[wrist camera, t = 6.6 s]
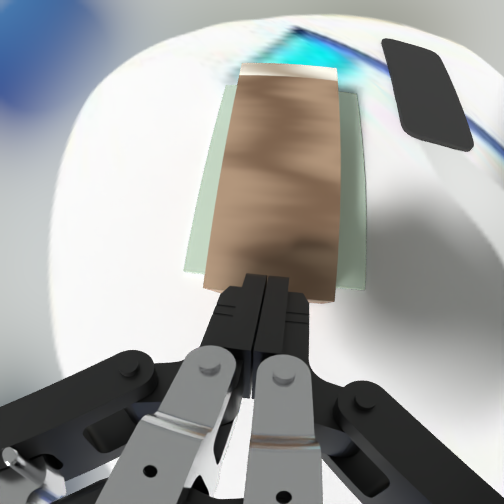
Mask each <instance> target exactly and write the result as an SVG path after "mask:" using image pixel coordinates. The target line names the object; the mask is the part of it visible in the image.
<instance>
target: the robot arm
mask: <svg viewBox="0 0 504 504" xmlns="http://www.w3.org/2000/svg"><path fill="white" fill-rule="evenodd" d="M288 287H289V277H282V276H271V275H269V276H268V281H267V275H260V274H250V273H246V275H245V279H244V282H243V285H242V287H238V286H229V287H228V288H227V289H226V290H224V291H223V292H222V293H221V294H220V297H219V299H218V302H217V306H216V307H215V309H214V312H213V315H212V317H211V319H210V322H209V325H208V327H207V330H206V332H205V335H204V337H203V340H202V342H201V345H200V347H199V348H196V349H194V350H193V351H191V352H190V353H189V354H188V355H187V356H186V358H185V359H184V360H182V361H179V362H172V363H153V360H152V359H151V357H150V356H149V355H147V354H146V353H144V352H142V351H138V350H128V351H123V352H121V353H118V354H116V355H114V356H112V357H110V358H108V359H106V360H104V361H102V362H100V363H97V364H95V365H93V366H91V367H89V368H87V369H85V370H82V371H80V372H78V373H76V374H74V375H72V376H69V377H67V378H65V379H63V380H61V381H59V382H56V383H54V384H52V385H50V386H47V387H45V388H43V389H41V390H39V391H36V392H34V393H32V394H29V395H27V396H25V397H23V398H20V399H18V400H16V401H13V402H11V403H9V404H6V405H4V406H1V407H0V504H323V492H322V461H321V458H322V459H323V460H324V462H325V463H326V464H327V465H328V466H329V467H330V468H331V470H332V471H333V472H334V473H335V474H336V475H337V476H338V478H339V479H340V480H341V481H342V482H343V483H344V484H345V485H346V486H347V487H348V489H349V490H350V491H351V492H352V493H353V494H354V495H355V496H356V497H357V498H358V499H359V500H360V501H361V503H362V504H504V498H503V497H502V496H501V495H500V494H499V493H498V492H497V491H495V490H494V489H493V488H492V487H491V486H490V485H489V484H487V483H486V482H485V481H484V480H483V479H482V478H481V477H480V476H478V475H477V474H476V473H475V472H474V471H473V470H472V469H471V468H470V467H468V466H467V465H466V464H465V463H464V462H463V461H462V460H461V459H459V458H458V457H457V456H456V455H455V454H454V453H453V452H452V451H451V450H449V449H448V448H447V447H446V446H445V445H444V444H443V443H442V442H441V441H440V440H438V439H437V438H436V437H435V436H434V435H433V434H432V433H431V432H430V431H429V430H427V429H426V428H425V427H424V426H423V425H422V424H421V423H420V422H419V421H418V420H416V419H415V418H414V417H413V416H412V415H411V414H410V413H409V412H408V411H407V410H406V409H404V408H403V407H402V406H401V405H400V404H399V403H398V402H397V401H396V400H395V399H394V398H393V397H391V396H390V395H389V394H388V393H387V392H386V391H385V390H384V389H383V388H381V387H380V386H379V385H377V384H375V383H373V382H369V381H354V382H351V383H349V384H347V385H346V386H345V387H341V386H338V385H335V384H332V383H329V382H326V381H324V380H322V379H321V378H319V377H318V376H317V375H316V374H315V373H314V372H313V371H312V369H311V367H310V365H309V302H308V300H307V299H306V297H305V295H304V294H303V293H298V292H288ZM251 389H252V399H254V409H253V420H252V430H251V439H250V445H249V455H248V464H247V474H246V483H245V493H244V498H239V499H216V498H214V495H215V492H216V489H217V486H218V482H219V477H220V470H221V466H222V463H223V460H224V457H225V454H226V451H227V448H228V445H229V442H230V439H231V436H232V433H233V430H234V427H235V424H236V421H237V417H238V412H239V409H240V404H241V400H242V398H249V399H250V394H251ZM119 456H120V457H119ZM117 457H119V459H118V461H117V463H116V465H115V467H114V469H113V471H112V472H111V474H110V476H109V478H105V479H102V480H99V481H97V482H95V483H93V484H91V485H89V486H87V487H85V488H83V489H81V490H79V491H77V492H75V493H72V494H70V495H68V496H66V497H64V496H65V494H66V488H65V481H67V480H69V479H72V478H74V477H77V476H79V475H81V474H83V473H86V472H88V471H90V470H92V469H95V468H97V467H99V466H101V465H103V464H105V463H107V462H109V461H111V460H113V459H115V458H117ZM61 497H63V498H61ZM58 498H61V499H59V500H57V499H58ZM55 500H57V501H55Z"/></svg>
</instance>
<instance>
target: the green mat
mask: <svg viewBox="0 0 504 504" xmlns="http://www.w3.org/2000/svg"><path fill="white" fill-rule="evenodd" d="M236 89H237V85H226V87H225V91H224V94H223V98H222V101H221V105H220V109H219V112H218V116H217V120H216V124H215V128H214V131H213V135H212V139H211V143H210V147H209V151H208V156H207V160H206V164H205V168H204V173H203V177H202V181H201V186H200V190H199V195H198V199H197V204H196V209H195V214H194V218H193V223H192V228H191V233H190V239H189V244H188V249H187V254H186V260H185V265H184V272H189V273H197V274H205V269H206V262H207V255H208V248H209V241H210V235H211V228H212V221H213V215H214V209H215V202H216V196H217V190H218V184H219V178H220V173H221V167H222V161H223V156H224V150H225V145H226V139H227V134H228V129H229V124H230V118H231V113H232V108H233V103H234V98H235V94H236ZM338 94H339V113H340V147H341V193H340V227H339V248H338V264H337V278H336V288H344V289H356V290H365V279H366V193H365V173H364V158H363V146H362V135H361V125H360V116H359V108H358V100H357V94H353V93H347V92H339V91H338Z"/></svg>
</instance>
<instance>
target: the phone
mask: <svg viewBox="0 0 504 504" xmlns="http://www.w3.org/2000/svg"><path fill="white" fill-rule="evenodd" d="M381 44H382V48H383V51H384V55H385V58H386V62H387V65H388V69H389V73H390V77H391V81H392V85H393V91H394V95H395V99H396V102H397V107H398V112H399V117H400V122H401V126H402V128H403V130H404V131H405V132H406V133H407V134H408V135H410V136H412V137H414V138H417V139H418V140H421V141H425V142H429V143H433V144H437V145H441V146H444V147H448V148H451V149H454V150H458V151H459V150H461V151H465V152H468V151H470V150H471V149H472V148H473V146H474V142H473V138H472V135H471V132H470V129H469V126H468V123H467V120H466V117H465V114H464V111H463V109H462V106H461V103H460V101H459V98H458V96H457V93H456V91H455V89H454V86H453V84H452V82H451V79H450V77H449V75H448V73H447V70H446V68H445V66H444V64H443V62H442V60H441V58H440V57H439V56H438V55H437V54H436V53H435V52H433V51H431V50H428V49H425V48H422V47H418V46H415V45H412V44H408V43H404V42H401V41H397V40H393V39H387V38H385V39H383V40H382V43H381Z"/></svg>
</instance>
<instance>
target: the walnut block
mask: <svg viewBox="0 0 504 504" xmlns="http://www.w3.org/2000/svg"><path fill="white" fill-rule="evenodd" d="M340 193H341V147H340V113H339V94H338V79H337V69H336V68H328V67H319V66H308V65H295V64H275V63H242V65H241V70H240V75H239V79H238V84H237V89H236V94H235V98H234V103H233V108H232V113H231V118H230V124H229V129H228V134H227V139H226V145H225V150H224V156H223V161H222V167H221V173H220V178H219V184H218V190H217V196H216V202H215V209H214V215H213V221H212V228H211V235H210V241H209V248H208V255H207V262H206V269H205V277H204V284H203V288H205V289H209V290H212V291H215V292H219V293H222V292H223V291H224V290H226V289H227V288H228V287H229V286H238V287H242V285H243V282H244V279H245V275H246V273H250V274H260V275H267V281H268V276H269V275H271V276H282V277H289V287H288V292H298V293H303V294H304V295H305V297H306V299H307V300H308V302H309V303H320V304H324V303H330V302H334V301H335V290H336V278H337V264H338V248H339V227H340Z"/></svg>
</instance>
